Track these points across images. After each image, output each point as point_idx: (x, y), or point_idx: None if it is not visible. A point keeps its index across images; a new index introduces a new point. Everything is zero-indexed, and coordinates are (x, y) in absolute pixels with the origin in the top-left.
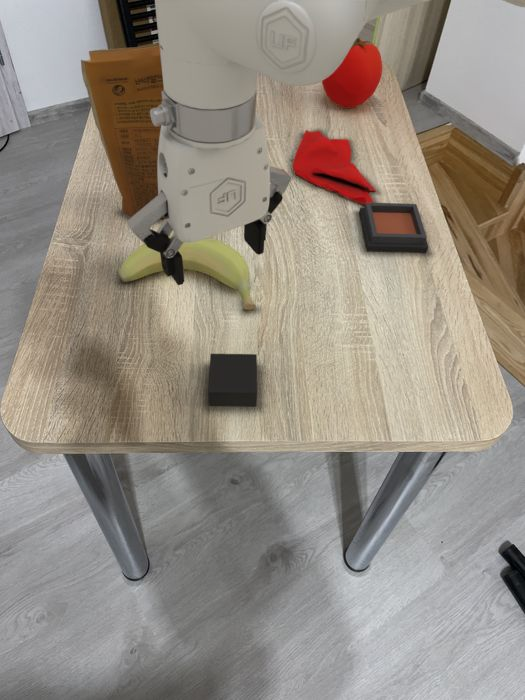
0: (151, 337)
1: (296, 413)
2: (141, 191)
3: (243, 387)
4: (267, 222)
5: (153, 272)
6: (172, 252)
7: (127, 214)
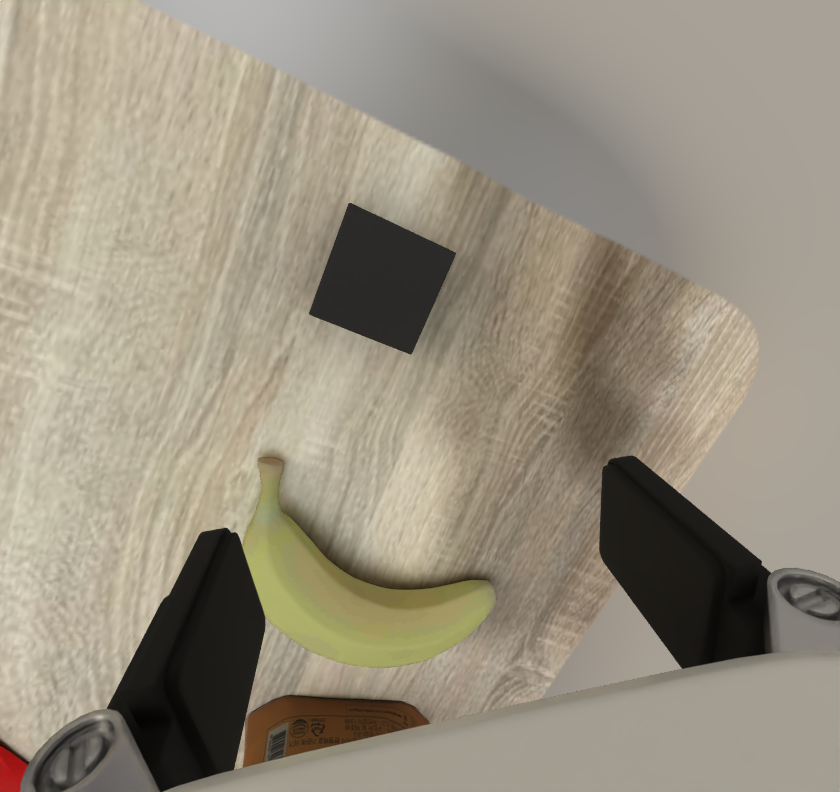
0: (486, 450)
1: (263, 143)
2: None
3: (375, 231)
4: (92, 717)
5: (431, 589)
6: (796, 599)
7: (423, 717)
